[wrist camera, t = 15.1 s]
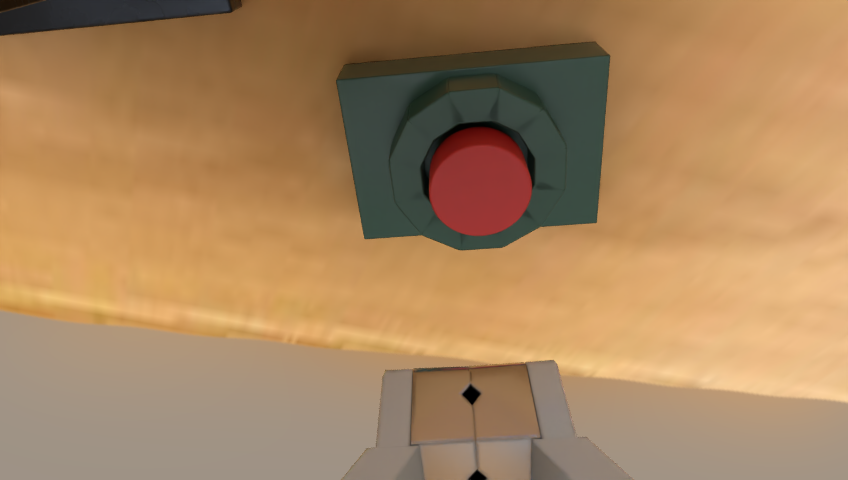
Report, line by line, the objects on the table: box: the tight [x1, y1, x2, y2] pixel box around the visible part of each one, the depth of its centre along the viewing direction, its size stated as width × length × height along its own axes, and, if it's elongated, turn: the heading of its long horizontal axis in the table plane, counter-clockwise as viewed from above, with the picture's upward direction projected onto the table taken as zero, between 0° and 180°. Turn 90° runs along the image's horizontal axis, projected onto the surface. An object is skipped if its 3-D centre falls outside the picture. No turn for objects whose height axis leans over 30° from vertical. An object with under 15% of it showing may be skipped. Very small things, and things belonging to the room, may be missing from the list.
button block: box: [336, 42, 610, 250], centre depth 22 cm, size 10×7×4 cm
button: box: [429, 127, 532, 236], centre depth 20 cm, size 4×4×2 cm
